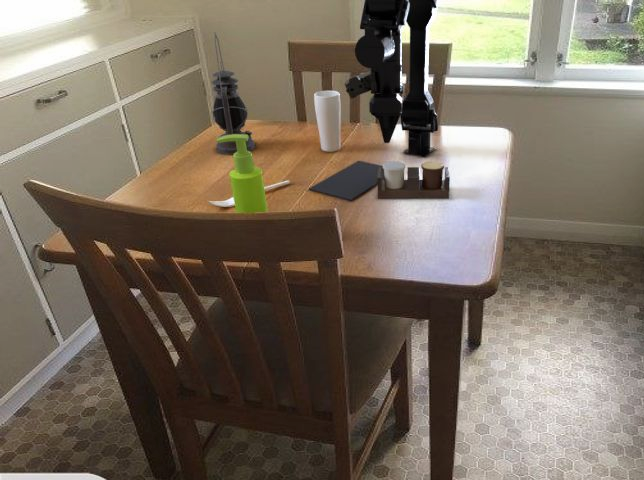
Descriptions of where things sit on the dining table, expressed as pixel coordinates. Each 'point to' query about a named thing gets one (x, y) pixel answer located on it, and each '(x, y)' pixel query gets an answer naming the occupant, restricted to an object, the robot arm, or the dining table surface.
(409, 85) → the robot arm
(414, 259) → the dining table surface
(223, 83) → the lantern
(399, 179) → the coffee pod
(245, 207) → the soap dispenser
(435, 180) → the cylinder
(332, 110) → the drinking glass
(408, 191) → the pod rack
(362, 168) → the mat
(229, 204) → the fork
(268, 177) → the dining table surface
